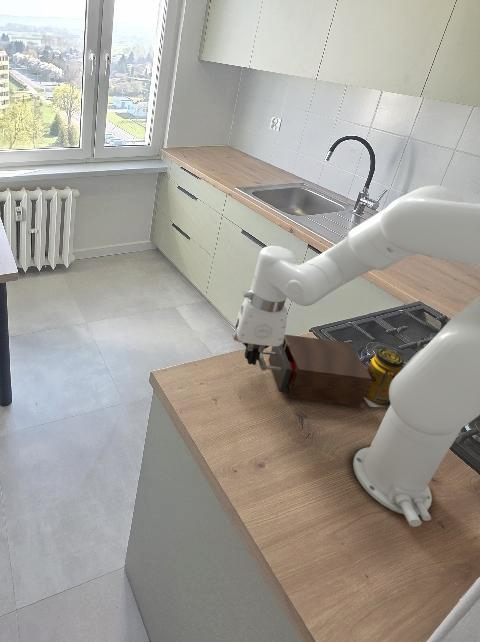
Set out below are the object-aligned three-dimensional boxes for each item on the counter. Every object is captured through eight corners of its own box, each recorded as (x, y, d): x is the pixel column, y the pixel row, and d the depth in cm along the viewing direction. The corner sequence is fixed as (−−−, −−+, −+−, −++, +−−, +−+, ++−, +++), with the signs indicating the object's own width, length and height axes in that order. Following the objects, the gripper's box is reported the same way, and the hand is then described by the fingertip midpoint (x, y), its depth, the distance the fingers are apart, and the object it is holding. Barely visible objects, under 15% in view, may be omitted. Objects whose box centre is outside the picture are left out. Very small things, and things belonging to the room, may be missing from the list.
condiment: (351, 382, 103) (367, 344, 98) (385, 383, 103) (402, 346, 98) (369, 407, 96) (386, 368, 91) (405, 408, 96) (424, 369, 91)
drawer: (258, 389, 98) (265, 366, 95) (249, 357, 107) (255, 335, 105) (344, 401, 96) (353, 377, 93) (327, 367, 106) (335, 345, 103)
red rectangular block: (310, 372, 102) (312, 364, 101) (314, 382, 99) (317, 374, 98) (280, 368, 103) (283, 360, 102) (284, 378, 100) (286, 370, 99)
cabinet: (289, 398, 97) (299, 369, 93) (276, 362, 108) (284, 334, 104) (359, 408, 96) (372, 378, 92) (339, 370, 106) (349, 342, 102)
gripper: (236, 305, 91) (221, 368, 99) (306, 313, 90) (286, 376, 97) (230, 285, 98) (217, 345, 106) (295, 292, 97) (277, 353, 104)
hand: (250, 360), depth 101 cm, fingers closed
